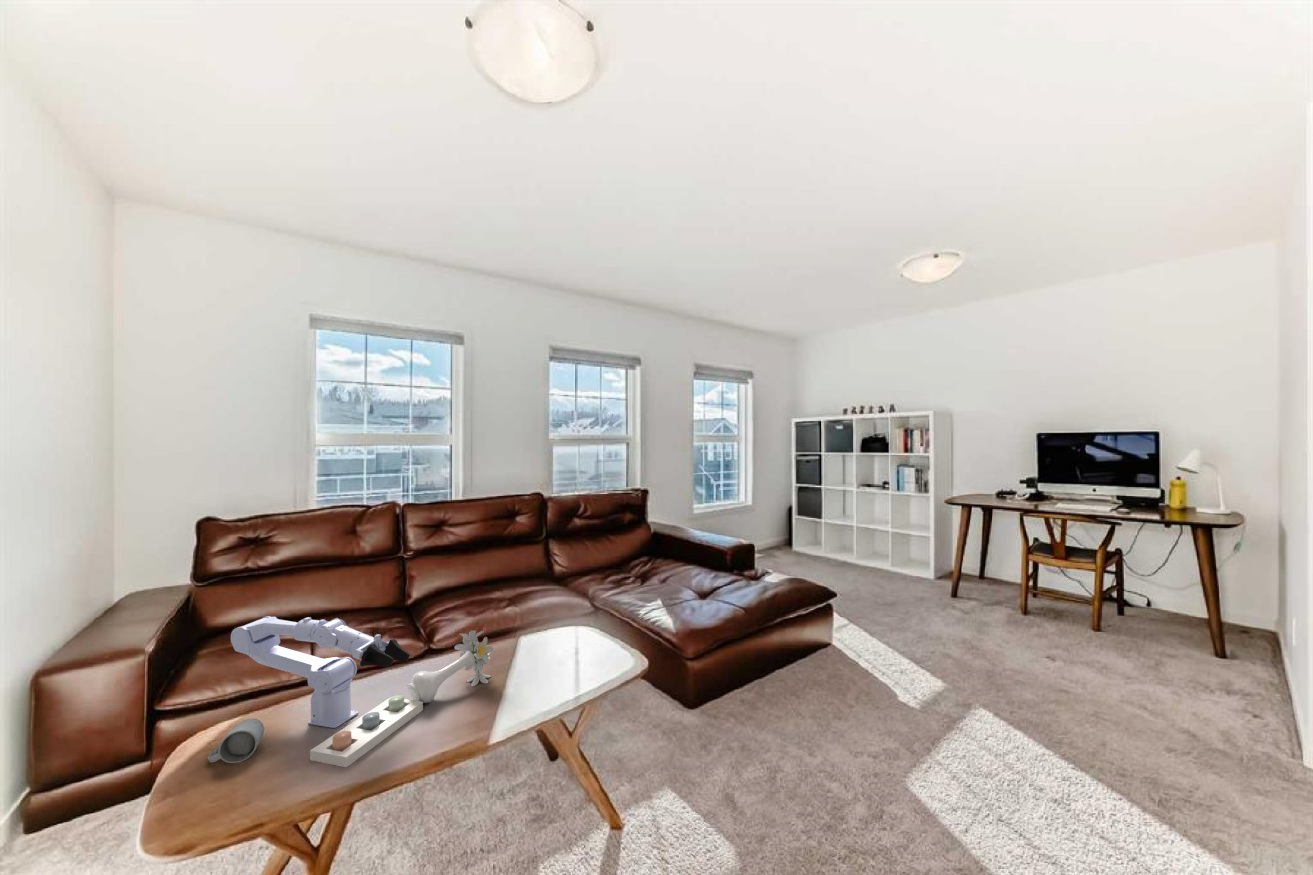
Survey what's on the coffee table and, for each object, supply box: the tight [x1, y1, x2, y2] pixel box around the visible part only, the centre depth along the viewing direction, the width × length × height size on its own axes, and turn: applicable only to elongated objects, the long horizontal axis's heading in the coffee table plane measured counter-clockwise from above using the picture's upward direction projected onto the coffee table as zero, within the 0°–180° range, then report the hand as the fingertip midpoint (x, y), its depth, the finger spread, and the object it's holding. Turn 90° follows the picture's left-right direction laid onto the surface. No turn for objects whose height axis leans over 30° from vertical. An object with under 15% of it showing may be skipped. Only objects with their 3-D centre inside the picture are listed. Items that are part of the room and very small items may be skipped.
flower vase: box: [407, 630, 494, 704], centre depth 158 cm, size 13×18×25 cm
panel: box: [309, 696, 424, 768], centre depth 135 cm, size 11×26×2 cm, turn 165°
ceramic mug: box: [207, 718, 265, 764], centre depth 126 cm, size 11×8×8 cm
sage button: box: [388, 694, 405, 712], centre depth 144 cm, size 4×4×3 cm
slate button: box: [361, 712, 380, 731], centre depth 135 cm, size 4×4×3 cm
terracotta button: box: [332, 731, 352, 752], centre depth 126 cm, size 4×4×3 cm
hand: (399, 660), depth 138 cm, fingers open, 7 cm apart
